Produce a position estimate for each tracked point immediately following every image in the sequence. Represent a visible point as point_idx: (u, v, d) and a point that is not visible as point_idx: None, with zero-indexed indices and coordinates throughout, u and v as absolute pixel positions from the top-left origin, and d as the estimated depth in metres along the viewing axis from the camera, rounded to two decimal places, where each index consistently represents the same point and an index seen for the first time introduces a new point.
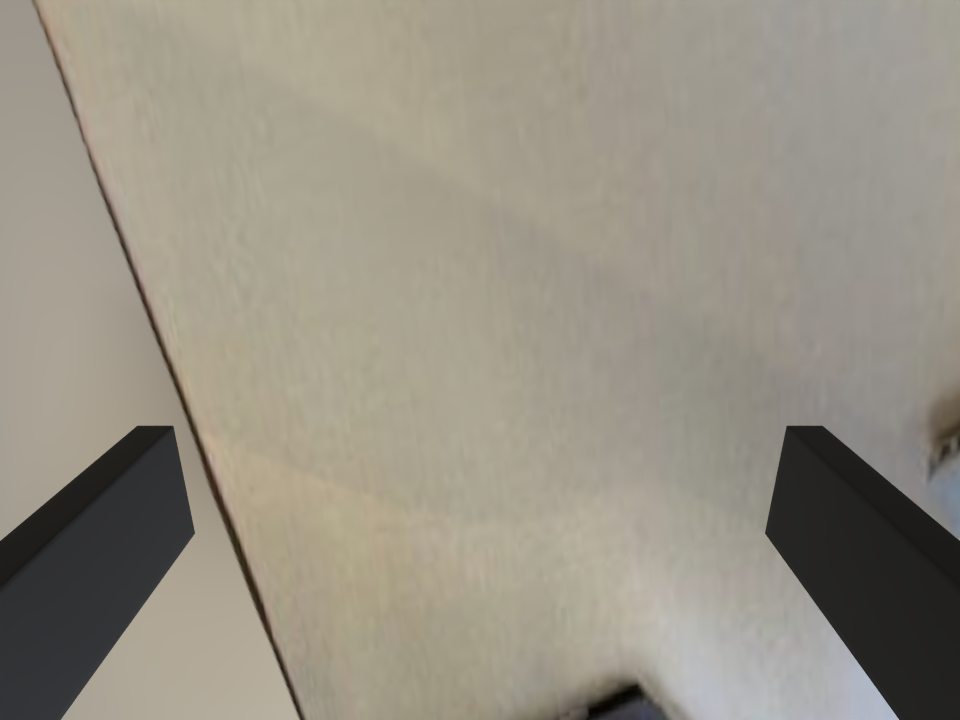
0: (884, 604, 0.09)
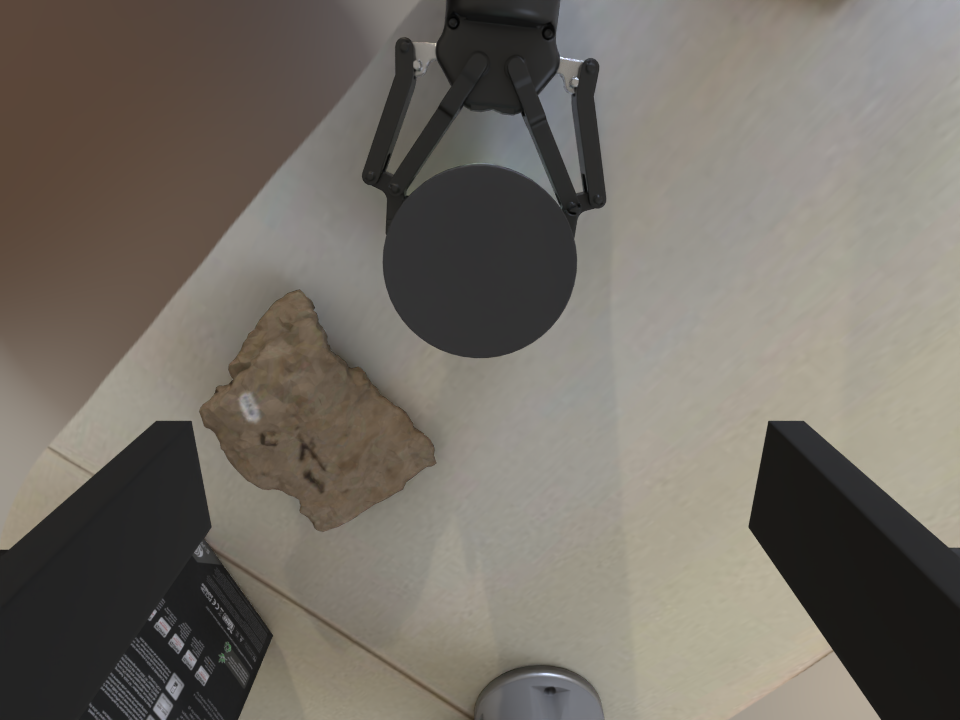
0: (858, 593, 0.10)
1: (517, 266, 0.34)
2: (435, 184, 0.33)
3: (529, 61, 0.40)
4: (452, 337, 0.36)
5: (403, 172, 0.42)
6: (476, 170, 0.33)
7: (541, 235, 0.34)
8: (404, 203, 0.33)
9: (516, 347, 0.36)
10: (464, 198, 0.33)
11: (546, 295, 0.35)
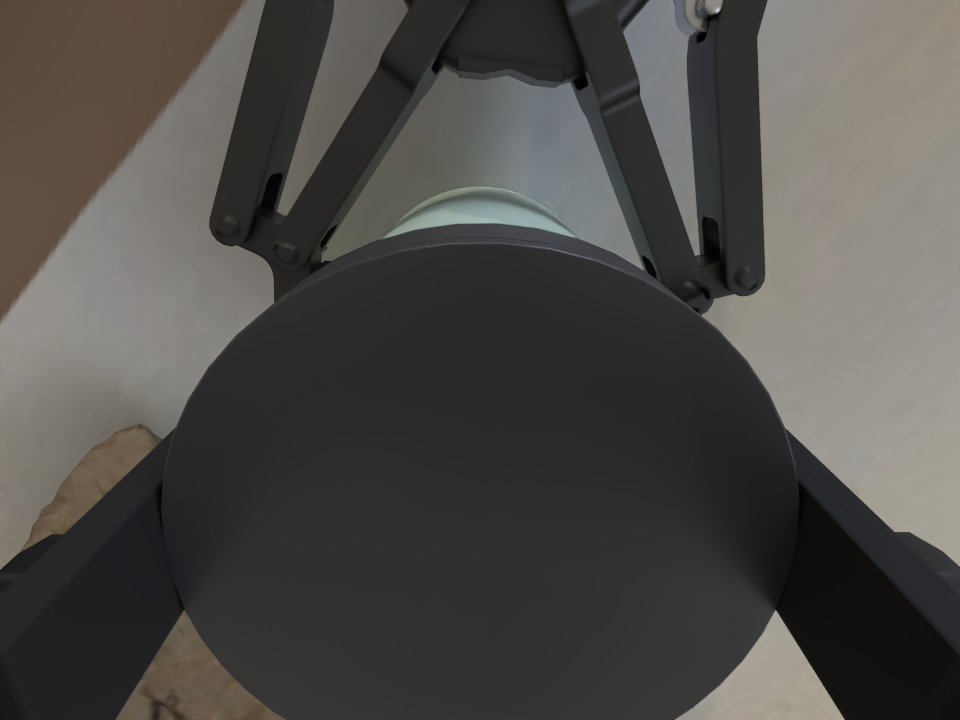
0: (810, 576, 0.10)
1: (602, 555, 0.11)
2: (318, 308, 0.09)
3: None
4: None
5: (305, 217, 0.18)
6: (467, 259, 0.09)
7: (689, 470, 0.10)
8: (213, 370, 0.09)
9: None
10: (425, 354, 0.09)
11: (688, 631, 0.11)
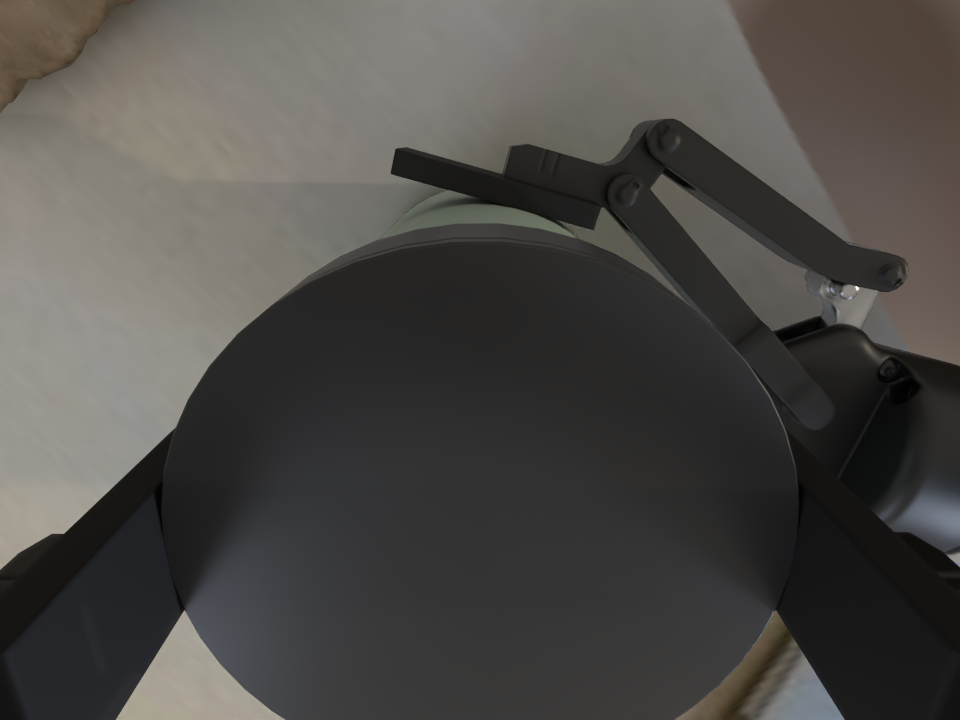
0: (810, 576, 0.10)
1: (602, 555, 0.11)
2: (319, 307, 0.09)
3: None
4: None
5: (655, 221, 0.19)
6: (469, 259, 0.09)
7: (689, 471, 0.10)
8: (213, 369, 0.09)
9: None
10: (426, 354, 0.09)
11: (688, 631, 0.11)
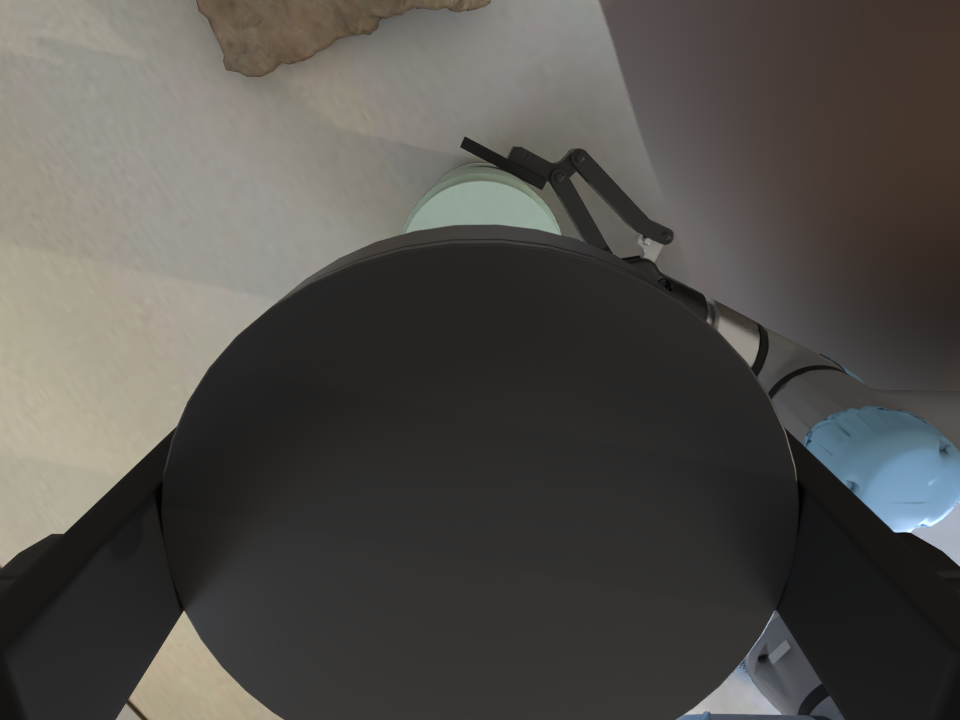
0: (811, 576, 0.10)
1: (602, 556, 0.11)
2: (318, 309, 0.09)
3: None
4: None
5: (569, 192, 0.43)
6: (467, 261, 0.09)
7: (688, 471, 0.10)
8: (213, 372, 0.09)
9: None
10: (425, 356, 0.09)
11: (688, 632, 0.11)
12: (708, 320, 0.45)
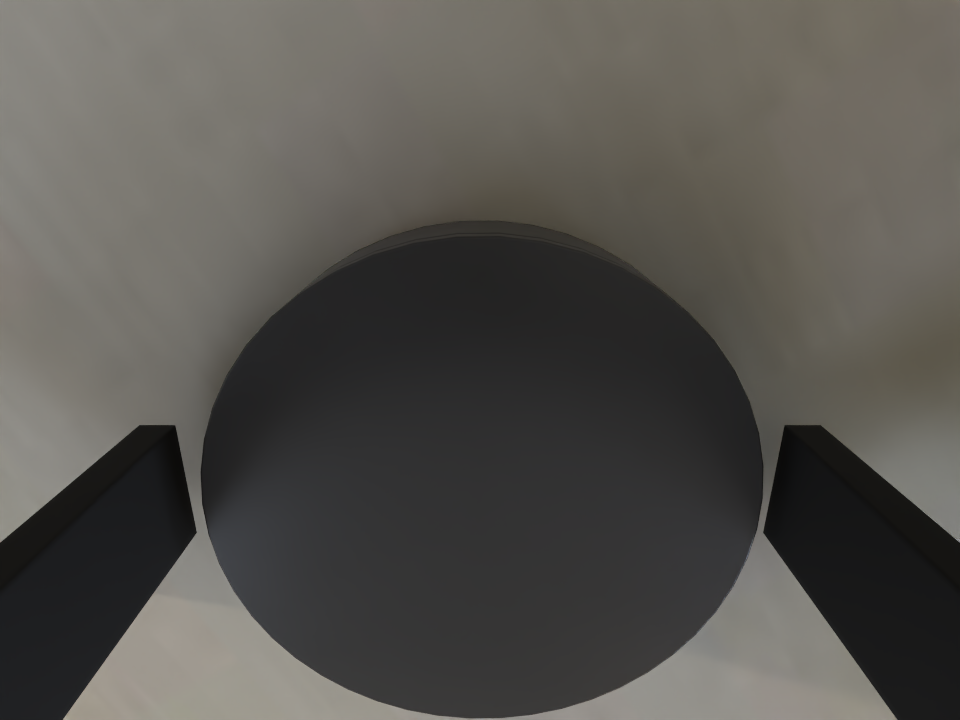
0: (881, 602, 0.09)
1: (589, 514, 0.12)
2: (341, 293, 0.10)
3: None
4: (408, 675, 0.14)
5: None
6: (471, 251, 0.10)
7: (665, 437, 0.11)
8: (249, 348, 0.11)
9: (578, 697, 0.14)
10: (434, 334, 0.11)
11: (667, 584, 0.13)
12: None
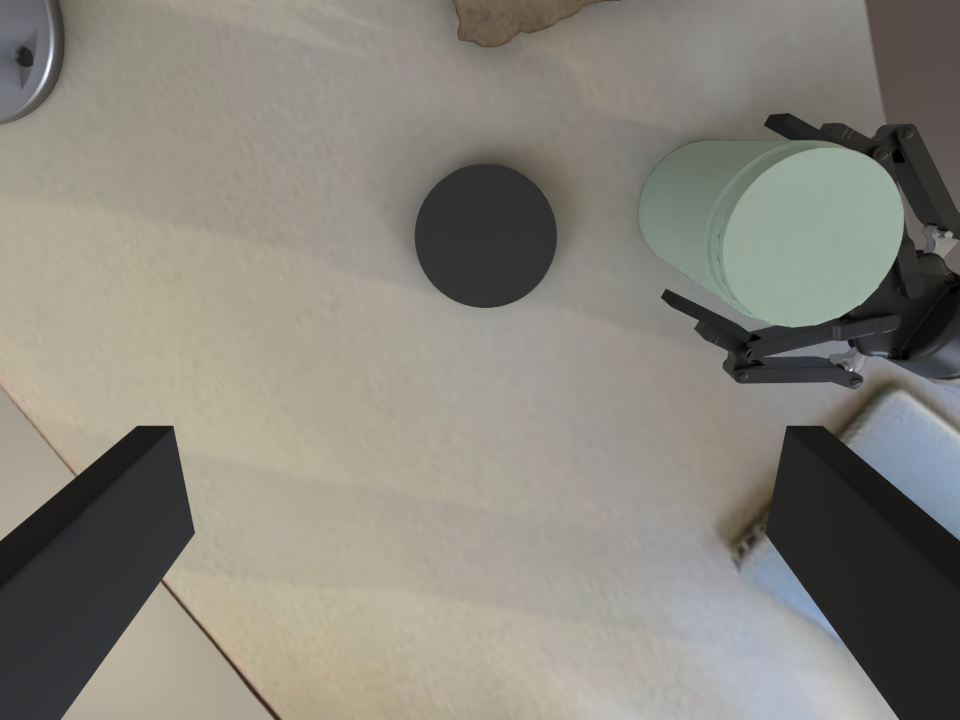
0: (883, 603, 0.09)
1: (513, 238, 0.47)
2: (453, 178, 0.46)
3: None
4: (465, 292, 0.49)
5: (887, 172, 0.40)
6: (483, 168, 0.45)
7: (530, 216, 0.46)
8: (431, 192, 0.46)
9: (512, 299, 0.49)
10: (474, 188, 0.46)
11: (534, 260, 0.48)
12: None
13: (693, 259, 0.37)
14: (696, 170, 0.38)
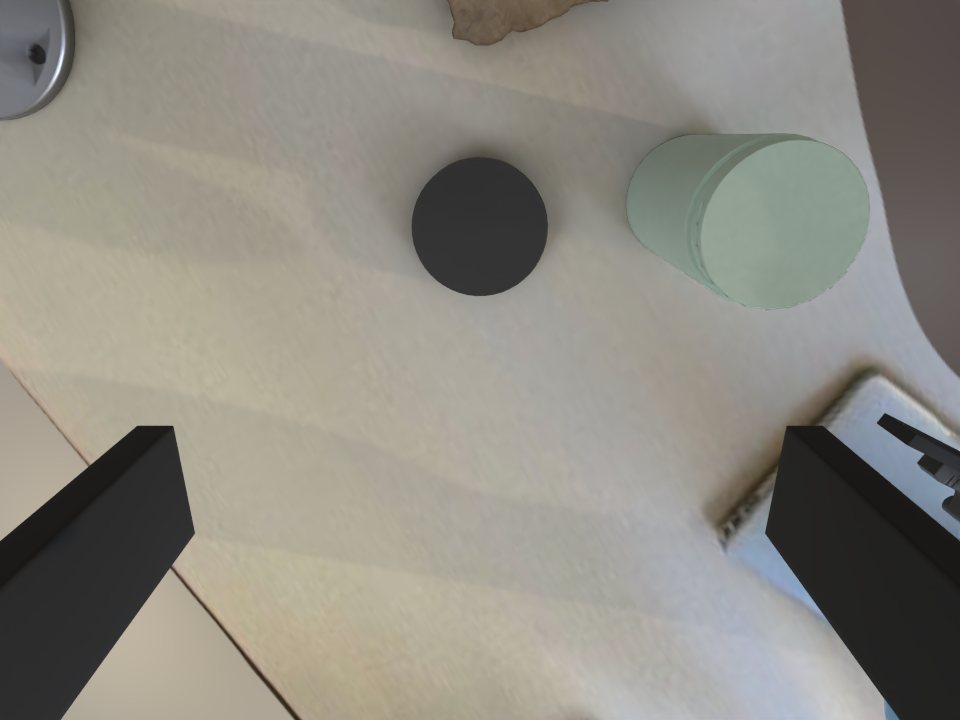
0: (884, 604, 0.09)
1: (506, 229, 0.49)
2: (449, 171, 0.48)
3: None
4: (460, 280, 0.51)
5: None
6: (477, 161, 0.47)
7: (522, 207, 0.49)
8: (427, 184, 0.48)
9: (505, 288, 0.51)
10: (469, 181, 0.48)
11: (526, 250, 0.50)
12: None
13: (675, 246, 0.39)
14: (679, 163, 0.40)
